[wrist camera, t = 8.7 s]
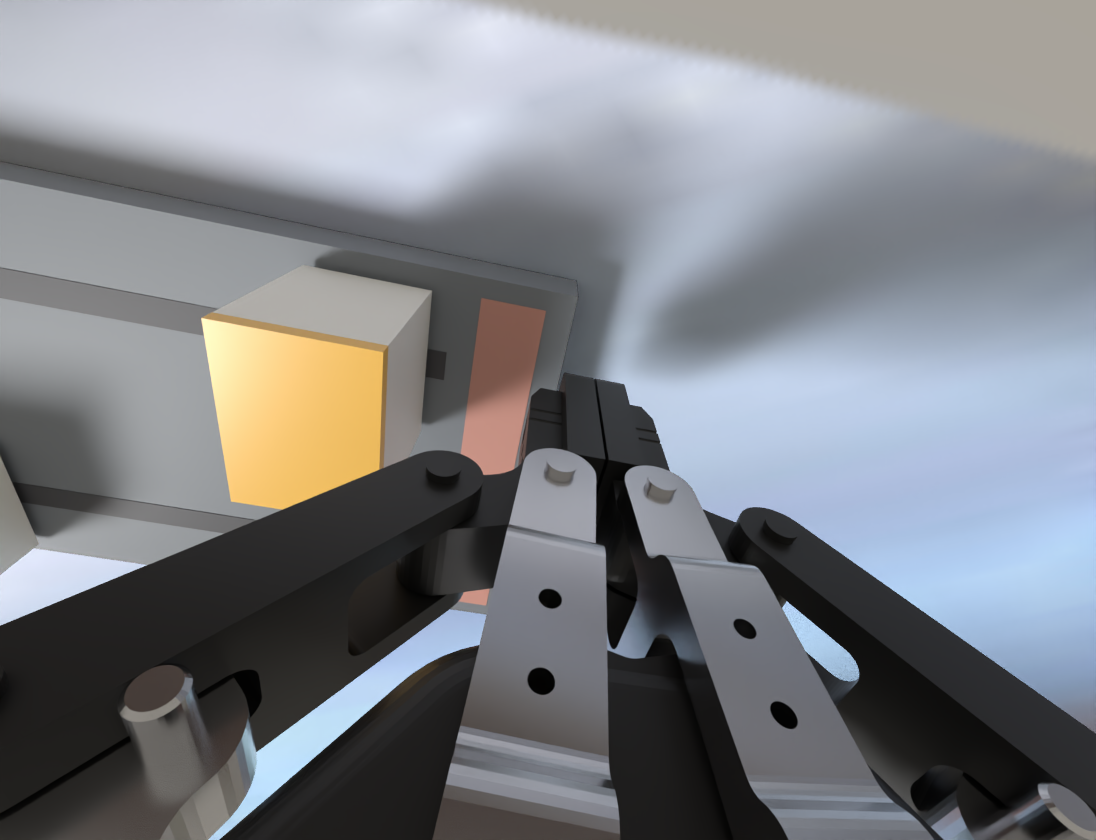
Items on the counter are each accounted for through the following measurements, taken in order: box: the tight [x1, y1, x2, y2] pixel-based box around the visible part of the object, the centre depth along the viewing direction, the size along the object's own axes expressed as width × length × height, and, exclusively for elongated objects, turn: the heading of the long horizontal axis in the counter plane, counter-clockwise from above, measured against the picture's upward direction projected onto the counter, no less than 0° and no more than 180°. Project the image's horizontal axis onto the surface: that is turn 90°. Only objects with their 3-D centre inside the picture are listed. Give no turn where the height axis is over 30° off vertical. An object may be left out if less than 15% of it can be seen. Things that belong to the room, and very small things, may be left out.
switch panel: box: [0, 162, 578, 615], centre depth 15 cm, size 22×12×2 cm, turn 79°
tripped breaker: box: [201, 265, 432, 510], centre depth 11 cm, size 3×4×4 cm
